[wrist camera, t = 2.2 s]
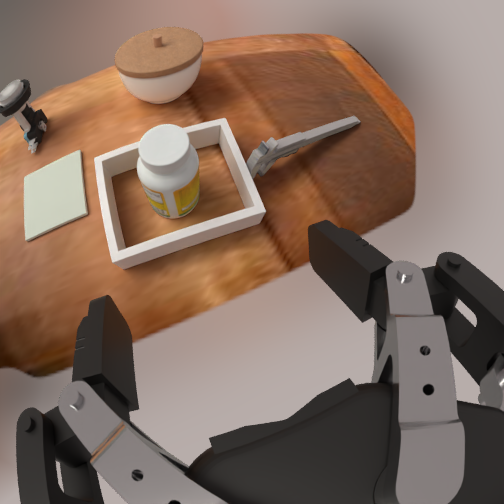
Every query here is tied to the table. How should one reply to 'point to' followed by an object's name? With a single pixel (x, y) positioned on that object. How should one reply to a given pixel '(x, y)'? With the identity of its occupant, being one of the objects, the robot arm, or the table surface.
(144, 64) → the lidded jar
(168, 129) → the supplement bottle
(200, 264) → the table surface
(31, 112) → the push button
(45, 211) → the rubber mat
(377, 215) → the table surface
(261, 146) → the caliper
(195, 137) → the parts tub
